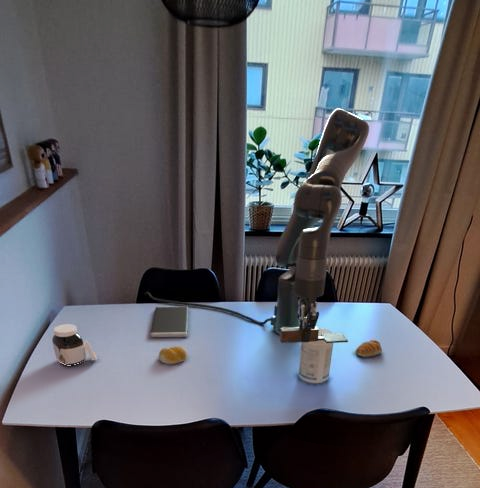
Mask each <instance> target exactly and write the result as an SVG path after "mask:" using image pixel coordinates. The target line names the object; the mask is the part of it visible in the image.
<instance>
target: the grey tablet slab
mask: <svg viewBox="0 0 480 488" xmlns="http://www.w3.org/2000/svg"><path fill="white" fill-rule="evenodd" d="M153 313H154V314H153V318H152V324H151V330H150V337H151V338H185V337H188V333H189V307H188V306H155V309H154V312H153Z"/></svg>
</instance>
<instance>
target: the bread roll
mask: <svg viewBox="0 0 480 488" xmlns="http://www.w3.org/2000/svg"><path fill="white" fill-rule="evenodd" d="M186 358H187V352H186V349H184V348H183V347H181V346H171V347H167V348H166V347H165V348H162V349H161V350H160V351H159V354H158V359H159V360H160V362H162V363H163V364H165V365H174V364H177V363H182V362H184V361H185V360H186Z"/></svg>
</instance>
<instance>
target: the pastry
mask: <svg viewBox="0 0 480 488" xmlns="http://www.w3.org/2000/svg"><path fill="white" fill-rule="evenodd" d="M382 352H383V348H382V345H381V342H380V341H378V340H376V339H370V340H367V341H364V342H362V343H361V344H359V346H358V347H357V348H356V349H355V355H358V356H360V357H363V358H368V357H373V356H374V357H375V356H377V355H380V354H381V353H382Z"/></svg>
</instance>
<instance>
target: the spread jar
mask: <svg viewBox="0 0 480 488" xmlns="http://www.w3.org/2000/svg"><path fill="white" fill-rule="evenodd" d="M53 333H54V335H53V336H52V340H51V341H52V347H53V351H54V355H55V358H56V360H57V359H58V360H59V361H60V362H62V363H64V364H66V365H64V364H62V363H60V362H59V361H58V360H57V361H58V363H59V364H60V365H61V366H63V367H66V368H73V367H77V366H80V365H81V364H83V363H84V362H85V361H86V358H87V354H88V356H89V358H90V359H91V361H93V360H95V361H98V358H97V357H98V356H97V355H96V353H95V351H94V349H93V348H92V346H91V344H90V343H89V341H88V340H85V341H84V340H83V338H82V336H81V335H80V334H79V333H78V328H77V326H76V325H74V324H71V323H66V324H64V323H63V324H59V325H56V326H55V327H54V328H53ZM86 352H87V354H86ZM94 354H95V355H94ZM84 360H85V361H84ZM82 361H83V362H82ZM95 361H94V362H95ZM80 362H81V363H80ZM77 363H79V364H77ZM74 364H76V365H74ZM67 365H71V366H67Z"/></svg>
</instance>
